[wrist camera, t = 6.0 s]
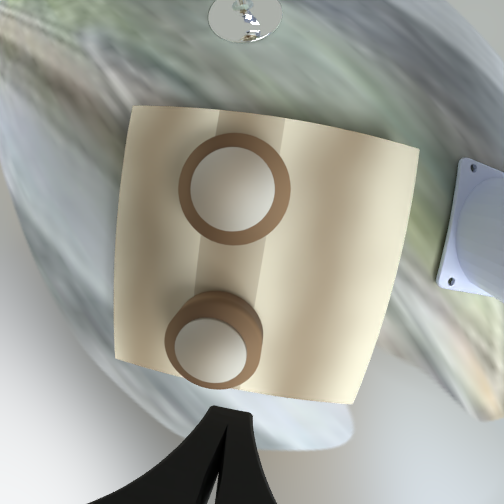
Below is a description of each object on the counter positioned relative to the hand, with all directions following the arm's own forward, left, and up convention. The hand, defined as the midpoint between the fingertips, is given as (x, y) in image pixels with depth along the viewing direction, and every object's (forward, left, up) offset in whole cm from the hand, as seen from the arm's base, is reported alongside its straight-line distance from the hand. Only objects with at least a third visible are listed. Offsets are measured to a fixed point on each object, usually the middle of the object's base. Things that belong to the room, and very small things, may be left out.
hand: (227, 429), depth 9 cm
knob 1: (+2, -7, -9) cm, 12 cm away
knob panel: (+1, -4, -9) cm, 10 cm away
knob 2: (+2, 0, -9) cm, 9 cm away
